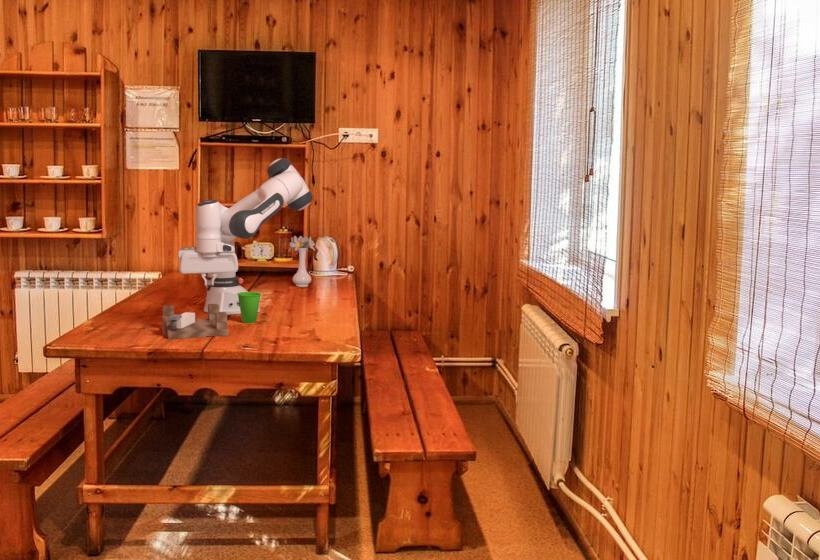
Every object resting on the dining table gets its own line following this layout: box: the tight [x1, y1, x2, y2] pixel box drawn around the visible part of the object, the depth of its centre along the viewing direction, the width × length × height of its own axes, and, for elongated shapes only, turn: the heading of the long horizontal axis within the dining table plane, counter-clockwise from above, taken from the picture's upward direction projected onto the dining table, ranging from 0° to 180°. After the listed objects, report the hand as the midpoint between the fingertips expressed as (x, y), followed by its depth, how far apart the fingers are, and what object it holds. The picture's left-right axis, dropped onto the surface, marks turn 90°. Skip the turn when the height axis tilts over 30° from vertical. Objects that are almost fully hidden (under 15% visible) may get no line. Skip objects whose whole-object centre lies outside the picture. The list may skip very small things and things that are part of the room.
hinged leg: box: [169, 311, 196, 329], centre depth 278 cm, size 15×4×5 cm, turn 171°
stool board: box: [161, 304, 229, 340], centre depth 283 cm, size 21×20×8 cm
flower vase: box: [288, 235, 316, 288], centre depth 393 cm, size 13×18×25 cm
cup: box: [237, 291, 262, 324], centre depth 302 cm, size 9×9×11 cm
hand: (209, 285), depth 282 cm, fingers closed
